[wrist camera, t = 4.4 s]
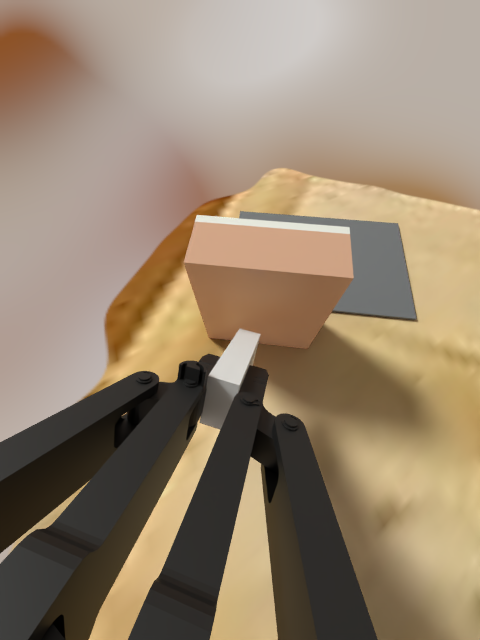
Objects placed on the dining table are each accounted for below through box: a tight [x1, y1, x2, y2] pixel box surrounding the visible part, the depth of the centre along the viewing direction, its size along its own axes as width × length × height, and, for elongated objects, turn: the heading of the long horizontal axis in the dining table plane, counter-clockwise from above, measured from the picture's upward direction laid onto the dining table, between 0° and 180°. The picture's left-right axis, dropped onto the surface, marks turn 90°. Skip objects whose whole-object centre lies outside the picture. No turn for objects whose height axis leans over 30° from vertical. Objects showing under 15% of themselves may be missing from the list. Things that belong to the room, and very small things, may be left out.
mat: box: [239, 211, 417, 320], centre depth 30 cm, size 14×20×1 cm
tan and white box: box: [184, 215, 354, 349], centre depth 21 cm, size 4×10×12 cm, turn 83°
